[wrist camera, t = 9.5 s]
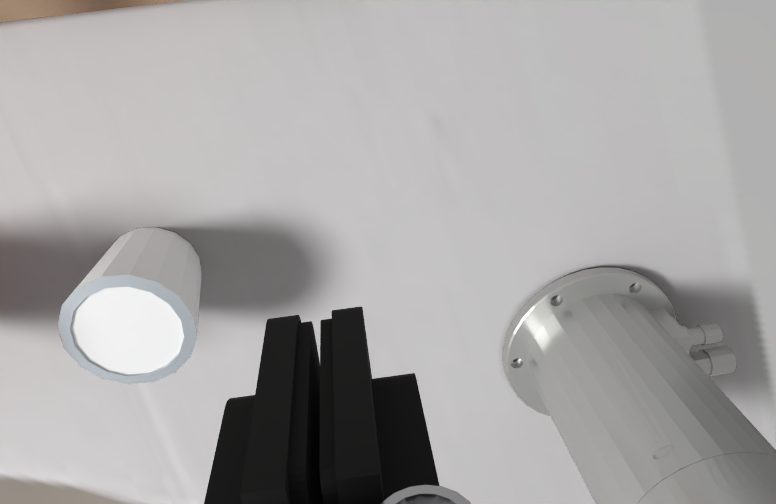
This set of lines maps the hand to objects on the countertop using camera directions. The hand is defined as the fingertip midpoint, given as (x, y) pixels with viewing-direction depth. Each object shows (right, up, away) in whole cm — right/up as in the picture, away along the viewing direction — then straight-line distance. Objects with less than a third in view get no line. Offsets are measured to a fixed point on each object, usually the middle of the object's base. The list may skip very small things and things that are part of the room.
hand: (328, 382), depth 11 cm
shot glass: (-13, +1, +28) cm, 31 cm away
